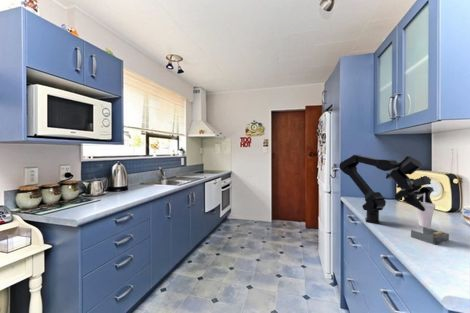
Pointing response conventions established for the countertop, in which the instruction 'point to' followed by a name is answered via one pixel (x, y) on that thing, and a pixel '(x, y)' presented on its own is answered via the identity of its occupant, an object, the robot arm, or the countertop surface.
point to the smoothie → (426, 213)
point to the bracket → (430, 236)
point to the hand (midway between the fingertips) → (429, 209)
